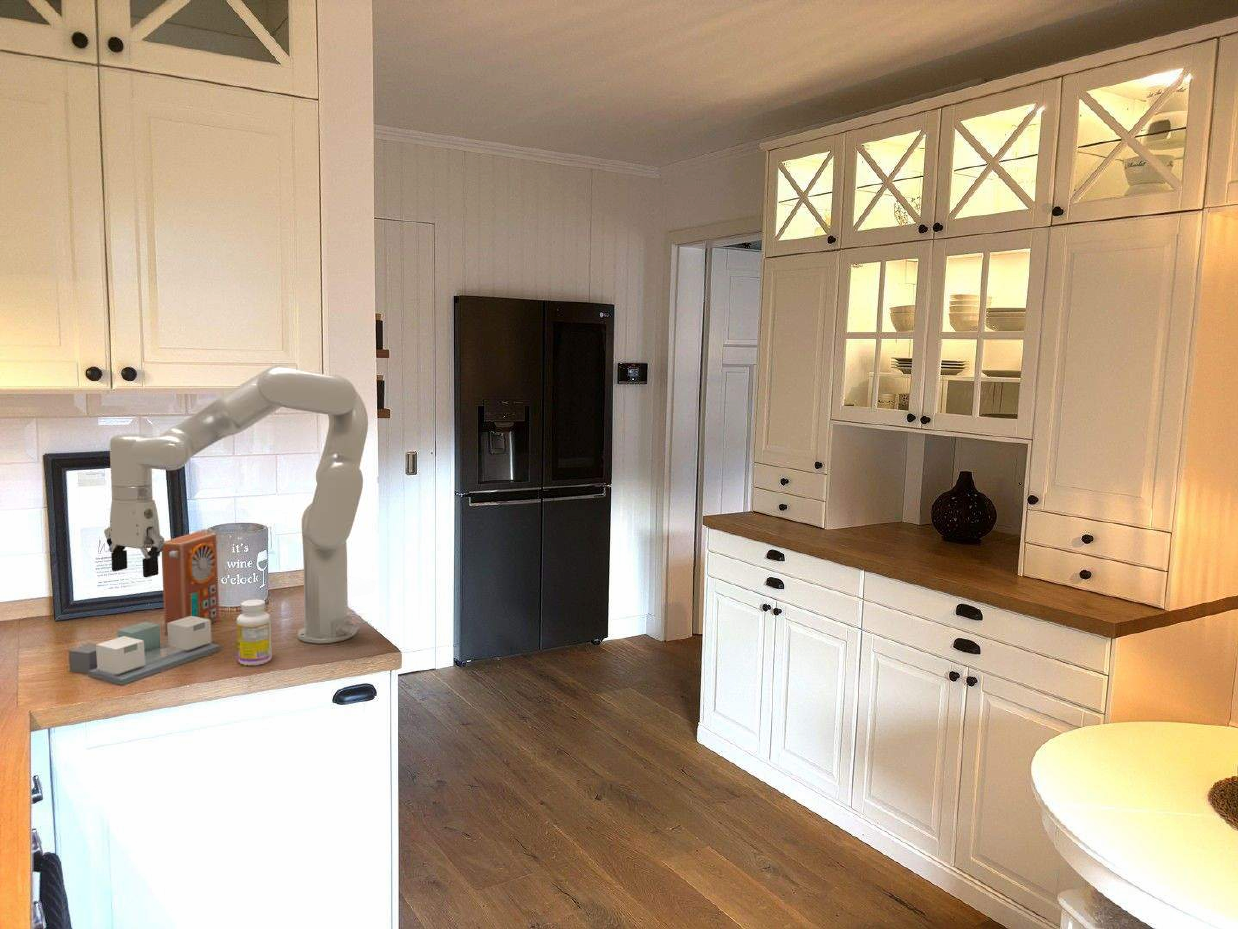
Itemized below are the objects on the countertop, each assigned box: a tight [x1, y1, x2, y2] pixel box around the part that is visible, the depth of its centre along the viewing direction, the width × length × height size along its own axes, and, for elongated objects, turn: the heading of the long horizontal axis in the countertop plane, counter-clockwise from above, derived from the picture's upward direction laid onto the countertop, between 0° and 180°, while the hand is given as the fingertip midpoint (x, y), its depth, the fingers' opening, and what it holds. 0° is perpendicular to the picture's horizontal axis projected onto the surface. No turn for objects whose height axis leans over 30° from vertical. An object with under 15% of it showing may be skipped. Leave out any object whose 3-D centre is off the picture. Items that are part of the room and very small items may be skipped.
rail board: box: [88, 642, 221, 686], centre depth 186 cm, size 10×23×1 cm, turn 155°
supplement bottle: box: [236, 598, 273, 666], centre depth 188 cm, size 7×7×13 cm
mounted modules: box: [95, 616, 212, 674], centre depth 186 cm, size 6×22×5 cm, turn 155°
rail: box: [100, 643, 209, 676], centre depth 186 cm, size 4×22×1 cm, turn 155°
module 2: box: [117, 621, 162, 652], centre depth 191 cm, size 4×6×6 cm
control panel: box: [160, 531, 221, 634], centre depth 209 cm, size 21×7×15 cm
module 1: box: [68, 642, 97, 675], centre depth 182 cm, size 5×5×4 cm
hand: (135, 572), depth 189 cm, fingers open, 9 cm apart
